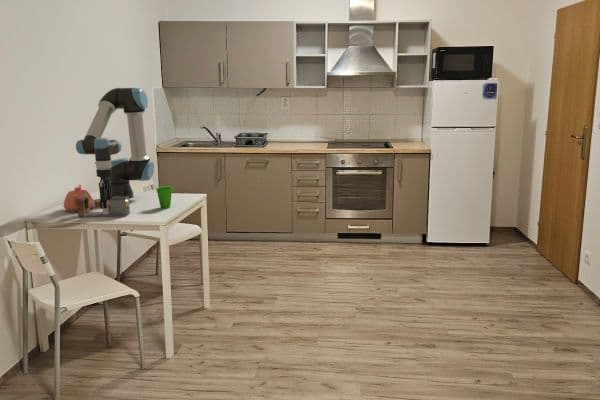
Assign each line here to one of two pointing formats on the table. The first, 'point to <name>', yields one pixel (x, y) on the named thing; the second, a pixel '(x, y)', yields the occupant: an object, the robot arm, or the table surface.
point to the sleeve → (119, 205)
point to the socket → (83, 205)
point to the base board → (102, 215)
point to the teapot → (72, 196)
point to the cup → (164, 196)
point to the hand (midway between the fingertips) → (107, 213)
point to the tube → (99, 204)
